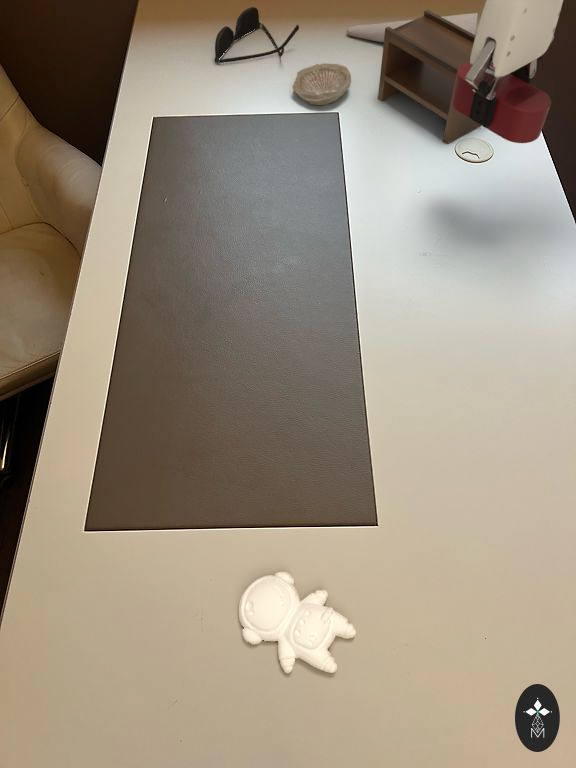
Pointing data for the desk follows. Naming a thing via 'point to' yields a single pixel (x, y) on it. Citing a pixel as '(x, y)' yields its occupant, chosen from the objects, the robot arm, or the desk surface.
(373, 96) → the desk surface
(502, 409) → the desk surface
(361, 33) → the pale tapered cone
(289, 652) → the astronaut figurine
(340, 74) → the fossil
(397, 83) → the rack
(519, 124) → the red rounded block
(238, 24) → the sunglasses
